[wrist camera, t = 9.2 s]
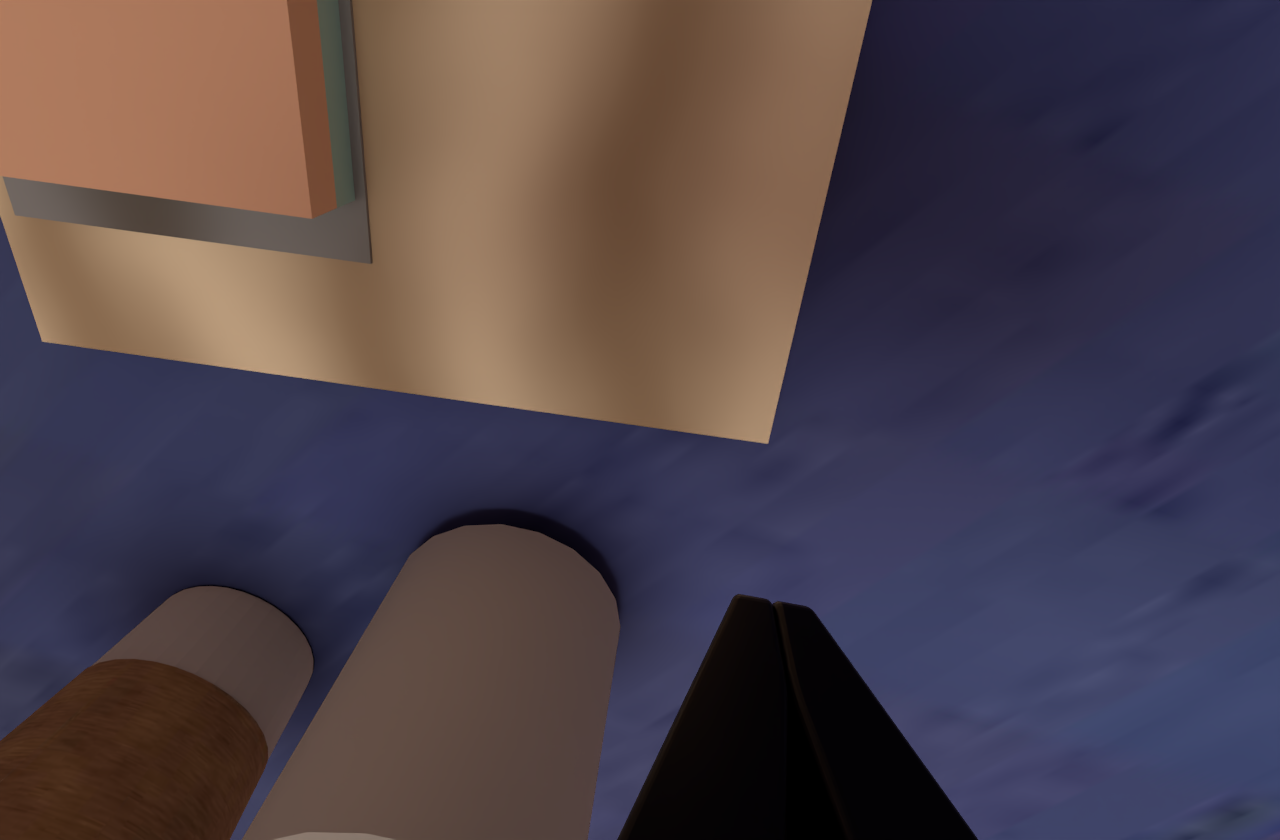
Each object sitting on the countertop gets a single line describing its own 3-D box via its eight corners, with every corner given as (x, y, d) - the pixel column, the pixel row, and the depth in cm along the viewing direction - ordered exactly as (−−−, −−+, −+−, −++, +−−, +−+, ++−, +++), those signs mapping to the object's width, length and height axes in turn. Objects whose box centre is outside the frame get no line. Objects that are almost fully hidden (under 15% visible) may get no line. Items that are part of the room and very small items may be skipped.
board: (924, -274, 12) (945, -305, 11) (764, 422, 19) (768, 445, 18) (-142, -397, 13) (-225, -439, 12) (77, 325, 20) (39, 342, 19)
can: (498, 698, 26) (356, 1139, 16) (361, 563, 23) (77, 984, 13) (665, 629, 24) (630, 1097, 13) (533, 469, 21) (355, 895, 10)
